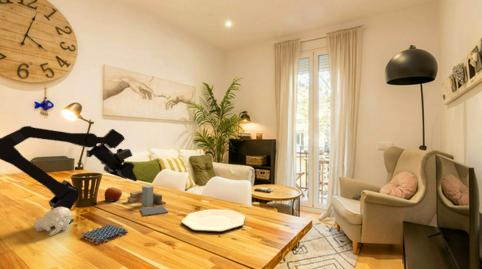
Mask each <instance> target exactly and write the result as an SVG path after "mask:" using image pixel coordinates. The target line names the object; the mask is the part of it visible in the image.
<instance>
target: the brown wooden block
mask: <svg viewBox="0 0 482 269" xmlns="http://www.w3.org/2000/svg"><path fill="white" fill-rule="evenodd" d="M165 204H167V202H166V201H163V195H162V194H159V193H155V192H153V205H157V206H163V205H165Z"/></svg>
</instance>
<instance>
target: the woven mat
mask: <svg viewBox="0 0 482 269" xmlns="http://www.w3.org/2000/svg"><path fill="white" fill-rule="evenodd" d="M127 234H129V231H128V229H126V228H125V227H124V228H123V227H120V226H116V225H113V224H106V225H105V226H101V227H97V228H96V229H92V230H90V231H89V230H88V231H87V232H82V235H81V237H80V238H81V239H84V240H86V241H89V242H90V243H94V244H96V245H99V246H101V245H103V244H105V243H108V242H110V241H112V240H115V239H118V238H120V237H123V236H126V235H127Z"/></svg>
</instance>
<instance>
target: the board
mask: <svg viewBox="0 0 482 269" xmlns="http://www.w3.org/2000/svg"><path fill="white" fill-rule="evenodd" d="M141 191H142V201H141V205H142V206H144V207H145V208H150V207H154V203H153V193H154V186H151V185H143V186H141Z"/></svg>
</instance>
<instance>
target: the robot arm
mask: <svg viewBox="0 0 482 269" xmlns="http://www.w3.org/2000/svg"><path fill="white" fill-rule="evenodd" d="M28 139H38V140H39V139H40V140H45V141H46V140H48V141H55V142H61V143H62V142H63V143H69V144H72V145H75V146H78V147H83V148H90V150H89V149H88V150H86V151H85V152H86V155H85V156H86V157H87V158H91V157H92V156H93V157H95V158H96V159H97V160H98V161H99V162H100V164H101V165H104V166H103V171H104V172H106V173H107V174H110V175H112V176H115V177H118V178H122V179H125V180H129V181H133V182H137V181H138V178H137V176H136V174H135V172H134V168H135V164H134V163H133V162H131V161H125V160H126V159H128V158H131V157H133V153H132V151H131V149H129V148H126V149H122V148H118V149H116V148H117V147H119V145H121V143H123V142H124V141H125V140H126V139H125V136H124V135H123V134H122V133H120V132H118V131H116V129H114V128H111V129H110V130H109V131H108V132H107V133H106V134H105V135H104V136H97V135H96V133H93V132H86V133H85V132H67V131H59V130H53V129H48V128H47V129H46V128H40V127H34V126H32V125H24V126H22V127H20V128H19V129H17V130H15V131H13V132H11V133H8V134H6V135H5V136H3V137H0V160H1V161H3V162H6V163H7V164H10V165H12V166H14V167H16V168H17V169H18V170H20V171H21V172H23V173H24V174H26V175H28V177H30V178H32V179H33V180H35V181H37V183H39V184H41V185H42V186H44V187H45V188H46V189H48V191H50V193H51V194H52V195H54V196H53V197H52V198H51V199H50V200H48V205H49V206H50V208H51V209H53V208H57V207H65V208H68V209H69V210H70V211H71V210H72V208H73V207H74V203H75V202H77V201H78V199H79V197H80V193H79V191H78V187H77V186H74V185H72V183H71V182H69V181H68V180H66V179H63V180H62V181H58V180H57V179H55V178H54V177H53V176H51V175H50V174H49V173H47V172H46V171H44V170H43V169H42V168H40V167H39V166H37V165H36V164H34V163H33V162H31V161H30V160H29V159H27V158H26V157H24V155H22V153H21V152H20V151H19V150H18V149H17V148H16V146H18V145H19V144H21V143H23V142H25V141H26V140H28ZM111 149H116V152H115V153H114V152H113V151H112V150H111ZM51 209H50V210H51ZM74 221H75V219H73V218H71V221H70V223H69V225H70V224H72V223H73V222H74ZM52 228H55V226H53V227H52Z"/></svg>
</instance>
